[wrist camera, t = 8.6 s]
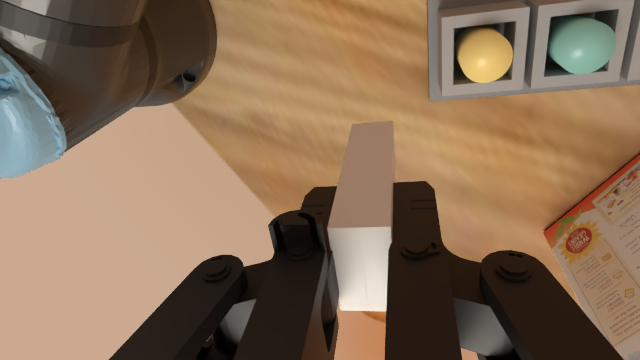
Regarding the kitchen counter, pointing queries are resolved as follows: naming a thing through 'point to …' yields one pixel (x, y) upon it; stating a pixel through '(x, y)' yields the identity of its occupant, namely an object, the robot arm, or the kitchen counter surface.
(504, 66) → the mustard button
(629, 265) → the cracker box
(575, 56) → the teal button
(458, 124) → the kitchen counter surface
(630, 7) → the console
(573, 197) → the kitchen counter surface
